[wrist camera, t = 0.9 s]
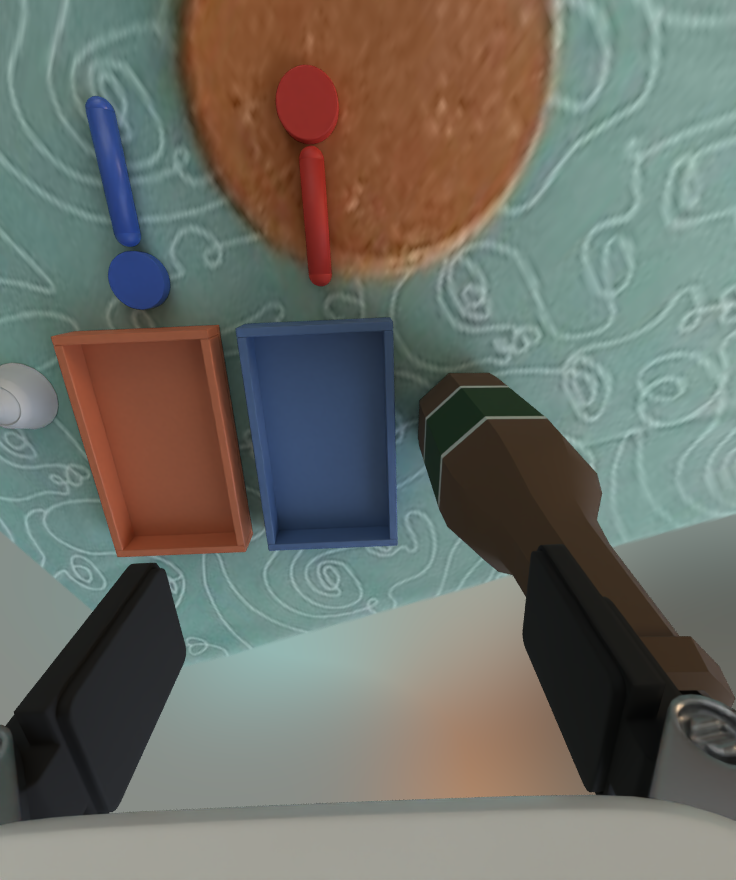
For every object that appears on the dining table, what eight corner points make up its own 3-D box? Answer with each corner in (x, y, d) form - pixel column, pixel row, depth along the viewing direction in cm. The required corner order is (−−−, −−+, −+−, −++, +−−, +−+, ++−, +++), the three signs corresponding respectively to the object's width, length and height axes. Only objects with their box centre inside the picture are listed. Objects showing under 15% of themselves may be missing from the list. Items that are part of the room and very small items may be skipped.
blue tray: (244, 323, 30) (235, 328, 28) (390, 317, 30) (392, 321, 28) (274, 533, 37) (268, 551, 34) (395, 528, 37) (397, 545, 34)
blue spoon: (74, 102, 26) (57, 93, 24) (134, 99, 26) (121, 90, 24) (123, 309, 30) (111, 311, 29) (175, 307, 30) (166, 309, 29)
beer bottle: (433, 477, 35) (555, 846, 13) (397, 390, 32) (474, 664, 10) (527, 442, 34) (841, 776, 12) (498, 349, 31) (835, 552, 9)
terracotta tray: (73, 331, 31) (50, 336, 28) (219, 324, 30) (207, 329, 28) (132, 539, 37) (117, 557, 35) (253, 534, 37) (245, 552, 34)
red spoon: (348, 284, 30) (348, 285, 28) (295, 287, 30) (292, 288, 28) (336, 70, 25) (335, 58, 24) (274, 73, 25) (269, 61, 24)
